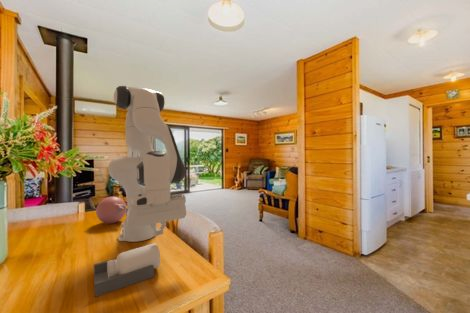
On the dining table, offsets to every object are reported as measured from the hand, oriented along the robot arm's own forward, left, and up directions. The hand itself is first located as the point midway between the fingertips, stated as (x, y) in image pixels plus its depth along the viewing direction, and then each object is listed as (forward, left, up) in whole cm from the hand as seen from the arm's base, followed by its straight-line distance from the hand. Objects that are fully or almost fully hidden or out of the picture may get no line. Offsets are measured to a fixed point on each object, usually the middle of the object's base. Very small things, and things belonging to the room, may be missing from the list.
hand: (158, 234), depth 75 cm
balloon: (-63, -9, -11) cm, 65 cm away
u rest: (0, -11, -11) cm, 16 cm away
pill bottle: (+1, -1, -6) cm, 7 cm away
